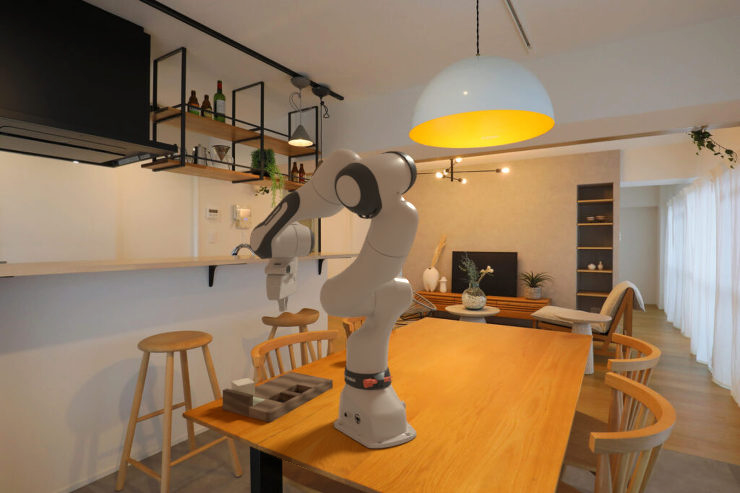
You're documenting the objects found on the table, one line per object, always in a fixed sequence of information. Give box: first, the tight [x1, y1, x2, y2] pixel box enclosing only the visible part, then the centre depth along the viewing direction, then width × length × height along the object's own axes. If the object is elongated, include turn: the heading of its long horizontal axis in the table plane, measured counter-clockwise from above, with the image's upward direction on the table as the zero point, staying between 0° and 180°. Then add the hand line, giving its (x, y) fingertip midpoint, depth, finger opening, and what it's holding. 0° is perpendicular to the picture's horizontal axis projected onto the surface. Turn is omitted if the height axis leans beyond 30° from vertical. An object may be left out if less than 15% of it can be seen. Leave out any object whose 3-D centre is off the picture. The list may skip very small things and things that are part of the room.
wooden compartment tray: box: [222, 371, 334, 423], centre depth 126 cm, size 30×18×6 cm, turn 152°
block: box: [230, 377, 256, 396], centre depth 121 cm, size 5×5×4 cm
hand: (283, 311), depth 129 cm, fingers closed
